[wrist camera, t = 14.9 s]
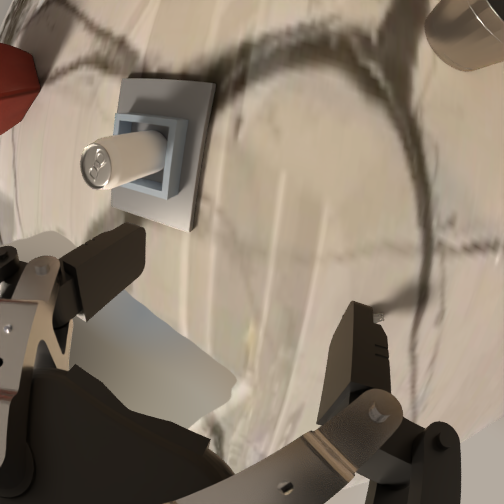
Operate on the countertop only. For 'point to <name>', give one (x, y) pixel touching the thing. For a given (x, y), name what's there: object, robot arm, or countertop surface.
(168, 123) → the housing
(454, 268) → the countertop surface
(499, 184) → the countertop surface
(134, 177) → the can
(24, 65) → the plant pot
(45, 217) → the countertop surface
